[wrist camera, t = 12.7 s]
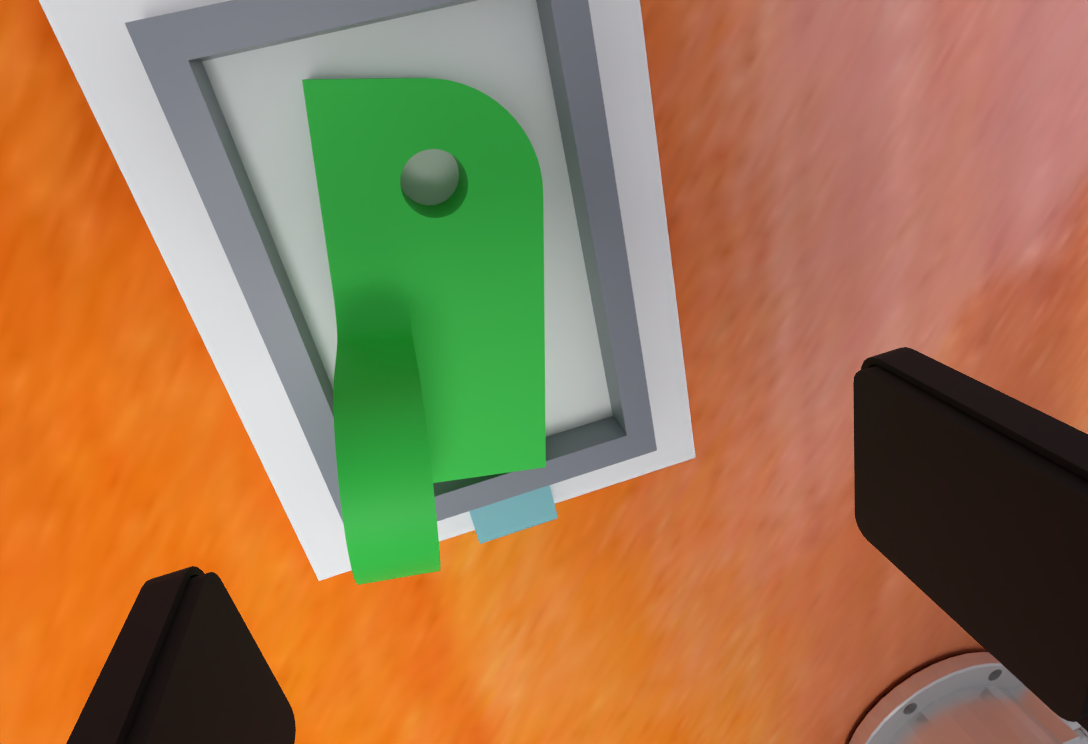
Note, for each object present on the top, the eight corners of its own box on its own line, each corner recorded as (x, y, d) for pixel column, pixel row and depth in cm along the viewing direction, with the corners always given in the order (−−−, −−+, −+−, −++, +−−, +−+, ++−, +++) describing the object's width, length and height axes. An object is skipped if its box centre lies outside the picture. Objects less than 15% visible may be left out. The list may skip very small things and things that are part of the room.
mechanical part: (532, 438, 24) (602, 590, 17) (362, 460, 23) (361, 634, 16) (525, 76, 19) (620, 78, 12) (308, 79, 18) (271, 82, 11)
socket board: (604, -153, 18) (640, -187, 16) (682, 442, 27) (713, 478, 25) (37, -42, 16) (-19, -62, 14) (320, 559, 25) (316, 609, 23)
